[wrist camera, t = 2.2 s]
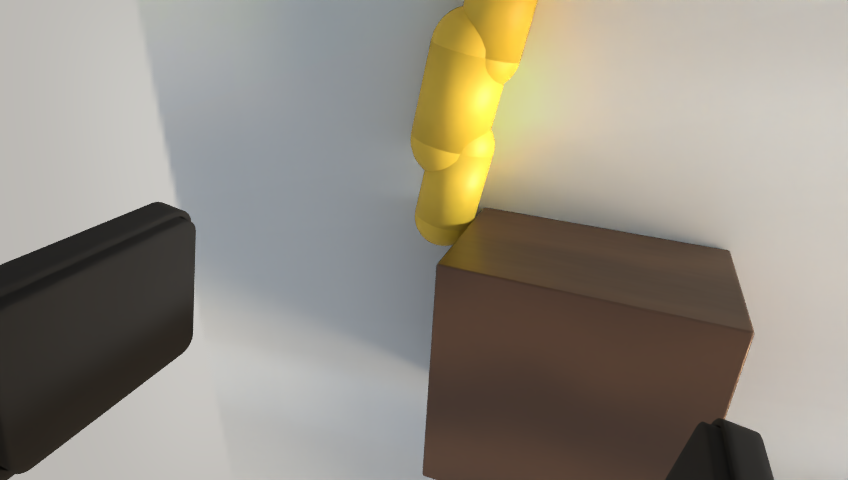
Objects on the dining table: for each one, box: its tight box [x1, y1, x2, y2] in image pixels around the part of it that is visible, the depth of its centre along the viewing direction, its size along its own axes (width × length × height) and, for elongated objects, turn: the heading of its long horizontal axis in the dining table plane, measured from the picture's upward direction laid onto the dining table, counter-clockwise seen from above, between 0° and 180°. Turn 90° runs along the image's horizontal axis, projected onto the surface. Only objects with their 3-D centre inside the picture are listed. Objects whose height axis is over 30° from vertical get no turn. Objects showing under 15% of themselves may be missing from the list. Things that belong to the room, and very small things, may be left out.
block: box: [423, 208, 754, 480], centre depth 25 cm, size 11×11×7 cm
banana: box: [411, 0, 538, 246], centre depth 24 cm, size 14×4×3 cm, turn 167°
